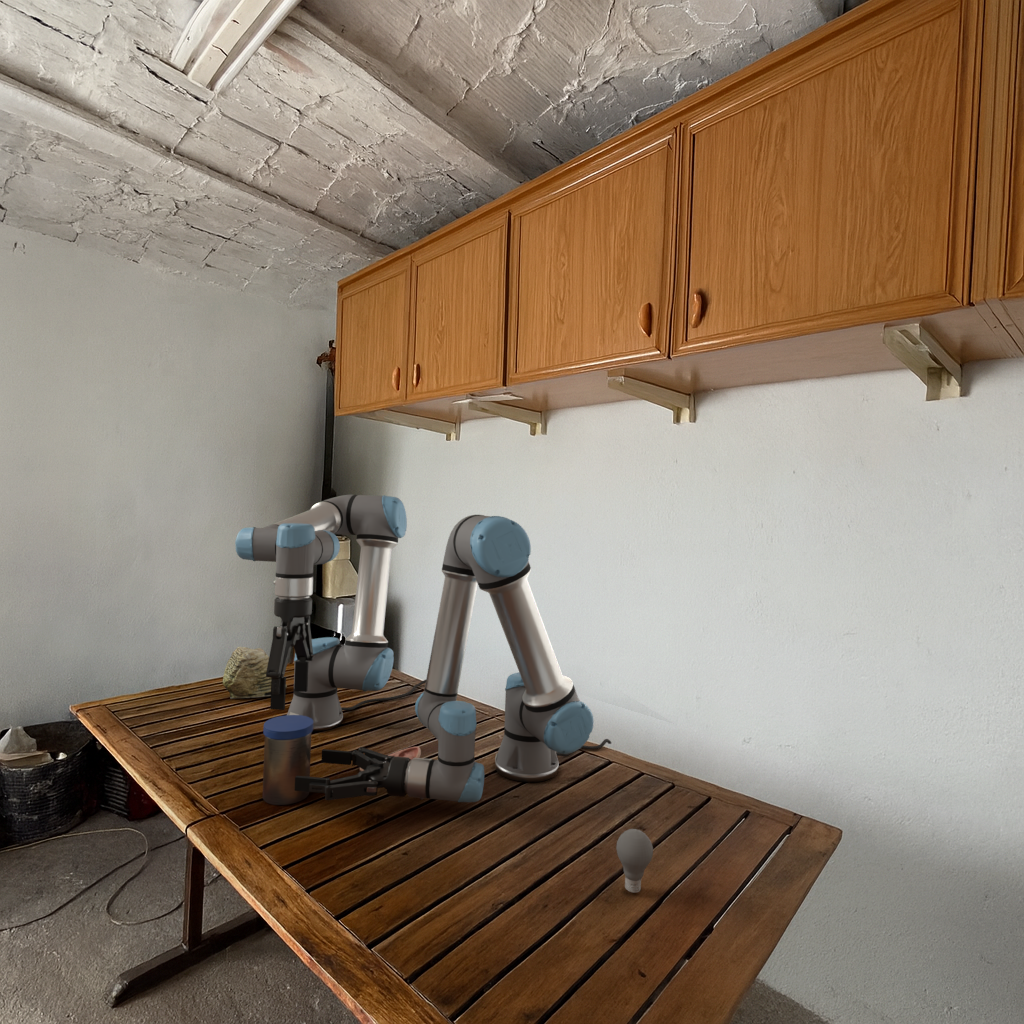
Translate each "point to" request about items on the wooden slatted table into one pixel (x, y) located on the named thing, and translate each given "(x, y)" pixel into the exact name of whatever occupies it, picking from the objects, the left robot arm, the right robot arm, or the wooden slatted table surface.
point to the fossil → (247, 674)
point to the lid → (288, 727)
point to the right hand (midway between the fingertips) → (309, 768)
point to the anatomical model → (406, 753)
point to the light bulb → (634, 857)
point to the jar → (285, 769)
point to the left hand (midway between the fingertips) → (289, 699)
